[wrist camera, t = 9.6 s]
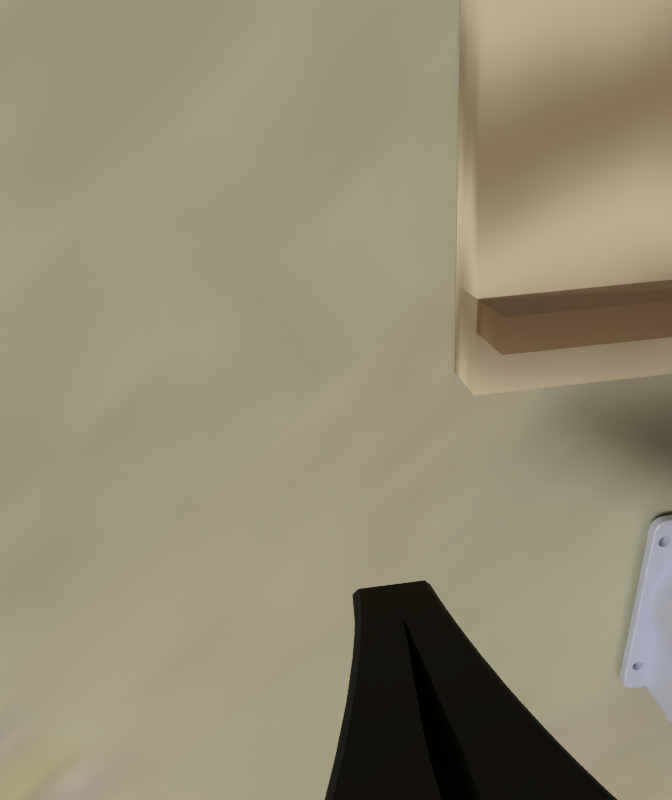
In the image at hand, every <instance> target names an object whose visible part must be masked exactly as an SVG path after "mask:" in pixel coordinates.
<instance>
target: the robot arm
mask: <svg viewBox="0 0 672 800" xmlns="http://www.w3.org/2000/svg"><path fill="white" fill-rule="evenodd" d="M661 538H662V539H661ZM660 539H661V540H660ZM353 605H354V617H355V636H354V649H353V659H352V667H351V674H350V681H349V689H348V696H347V702H346V707H345V712H344V717H343V722H342V727H341V732H340V737H339V742H338V747H337V752H336V756H335V761H334V765H333V769H332V773H331V777H330V781H329V785H328V789H327V793H326V797H325V800H617V799H616V798H615V797H614V796H613V795H611V794H610V793H609V792H608V791H607V790H606V789H605V788H604V787H603V786H602V785H601V784H600V783H599V782H598V781H597V780H596V779H595V778H594V777H593V776H592V775H591V774H589V773H588V772H587V771H586V770H585V769H584V768H583V767H582V766H581V765H580V764H579V763H578V762H577V761H576V760H575V759H574V758H573V757H572V756H571V755H570V754H569V753H568V752H567V751H566V750H565V749H564V748H563V747H562V746H561V745H560V744H559V743H558V742H557V741H556V740H555V738H554V737H553V736H552V735H551V734H550V733H549V732H548V731H547V730H546V729H545V728H544V727H543V726H542V725H541V724H540V723H539V721H538V720H537V719H536V718H535V717H534V716H533V715H532V714H531V713H530V712H529V711H528V709H527V708H526V707H525V706H524V705H523V704H522V703H521V702H520V701H519V700H518V698H517V697H516V696H515V695H514V694H513V693H512V692H511V690H510V689H509V688H508V687H507V686H506V685H505V683H504V682H503V681H502V680H501V679H500V677H499V676H498V675H497V674H496V673H495V671H494V670H493V669H492V668H491V667H490V665H489V664H488V663H487V662H486V661H485V659H484V658H483V657H482V656H481V655H480V653H479V652H478V651H477V649H476V648H475V647H474V646H473V644H472V643H471V642H470V641H469V639H468V638H467V637H466V635H465V634H464V633H463V631H462V630H461V629H460V627H459V626H458V625H457V623H456V622H455V621H454V619H453V618H452V616H451V615H450V614H449V612H448V611H447V609H446V608H445V606H444V605H443V604H442V602H441V601H440V599H439V598H438V596H437V595H436V593H435V592H434V590H433V588H432V587H431V585H430V584H428V583H427V582H426V581H417V582H409V583H402V584H394V585H386V586H378V587H371V588H363V589H358V590H357V591H356V592H355V593H354V594H353ZM620 680H621V681H622V683H623V684H624V685H625V687H627V688H638V687H646V688H647V690H648V691H649V692H650V694H651V695H652V697H653V698H654V700H655V701H656V702H657V704H658V705H659V707H660V708H661V710H662V711H663V712H664V714H665V715H666V717H667V718H668V720H669V721H670V722H671V724H672V515H667V516H662V517H658V518H657V519H655V520H654V521H653V522H652V523H651V525H650V528H649V532H648V537H647V542H646V547H645V552H644V557H643V563H642V568H641V573H640V578H639V583H638V588H637V593H636V598H635V603H634V608H633V613H632V618H631V623H630V628H629V633H628V638H627V643H626V648H625V653H624V658H623V663H622V668H621V673H620Z"/></svg>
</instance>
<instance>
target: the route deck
mask: <svg viewBox="0 0 672 800" xmlns="http://www.w3.org/2000/svg"><path fill="white" fill-rule="evenodd" d="M455 373H456V374H457V376H458V377H459V378H460V379H461V380H462V382H463V383H464V384H465V385H466V386H467V387H468V389H469V390H470V391H471V392H472V393H473V395H474V396H475V395H484V394H493V393H502V392H511V391H520V390H529V389H538V388H547V387H556V386H565V385H575V384H584V383H593V382H602V381H611V380H620V379H629V378H638V377H647V376H656V375H666V374H672V0H461V13H460V77H459V141H458V205H457V268H456V332H455Z"/></svg>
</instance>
